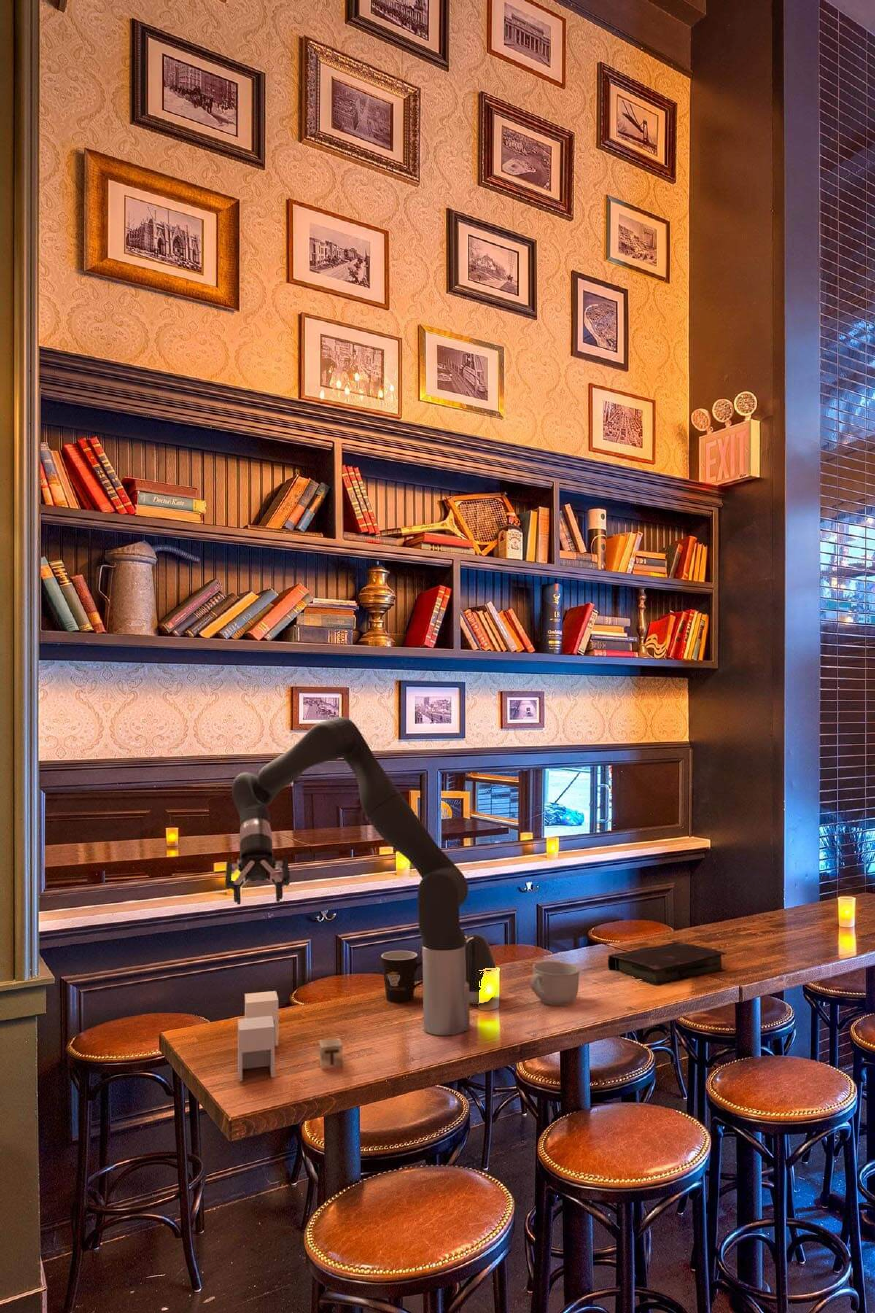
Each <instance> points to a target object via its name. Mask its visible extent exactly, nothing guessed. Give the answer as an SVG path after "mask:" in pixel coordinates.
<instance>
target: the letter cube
mask: <svg viewBox="0 0 875 1313" xmlns="http://www.w3.org/2000/svg"><path fill="white" fill-rule="evenodd" d="M343 1060H344V1059H343V1043H342V1040H341V1038H327V1039H320V1040H318V1061H319V1065H320V1069H321V1070H326V1068H328V1069H336V1068H337V1069H338V1068H343V1066H344V1065H343V1062H344V1061H343Z"/></svg>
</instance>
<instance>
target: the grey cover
mask: <svg viewBox="0 0 875 1313" xmlns="http://www.w3.org/2000/svg"><path fill="white" fill-rule="evenodd" d="M275 1048H276V1046H275V1026H274V1022H273V1017H272V1016H264V1017H255V1018H245V1017H244V1018H238V1019H237V1076H238V1082H243V1070H245V1069H246V1070H247V1069H255V1068H262V1067H269V1072H270V1078H275V1071H276V1070H275V1069H276V1068H275V1065H276V1064H275V1062H276V1061H275V1056H276V1055H275V1054H276V1052H275Z"/></svg>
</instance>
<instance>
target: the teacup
mask: <svg viewBox="0 0 875 1313" xmlns="http://www.w3.org/2000/svg"><path fill="white" fill-rule="evenodd" d="M579 980H580V968H579V967H578V966H576V965H574V964H572V963H569V962H564V961H556V960H545V961H538V962H536V963H534V964H533V965H532V976H531V978H530V984H529V985H530V989H531V990H532V991H533V993H534V994H535V996H536V997H537V998H538V999H539V1000H540V1001H541V1002H542V1003H543V1004H546V1005H550V1006H558V1007H559V1006H560V1007H561V1006H566V1005H569V1004H570V1003H571V1002H573V1001H574V1000H575V999H576V998H577V997H578V992H579Z"/></svg>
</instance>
